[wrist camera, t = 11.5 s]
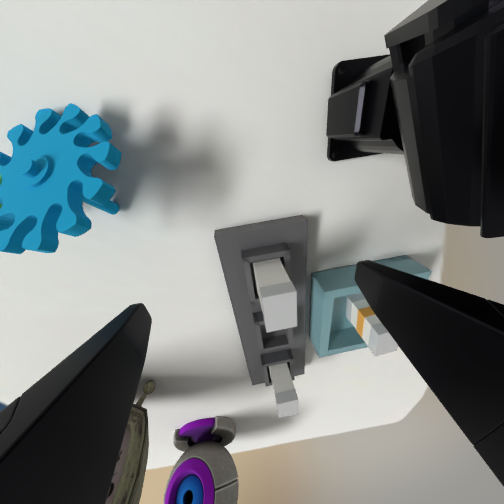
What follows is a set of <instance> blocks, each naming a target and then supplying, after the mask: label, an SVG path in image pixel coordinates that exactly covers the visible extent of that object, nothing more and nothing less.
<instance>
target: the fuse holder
mask: <svg viewBox="0 0 504 504" xmlns="http://www.w3.org/2000/svg"><path fill="white" fill-rule="evenodd" d="M214 238H215V241H216V245H217V249H218V253H219V257H220V261H221V265H222V269H223V272H224V276H225V280H226V284H227V288H228V292H229V296H230V300H231V304H232V307H233V311H234V315H235V319H236V323H237V327H238V331H239V335H240V338H241V342H242V346H243V350H244V354H245V358H246V362H247V366H248V370H249V373H250V377H251V381H252V385H256V384H260V383H265V384H266V386H269V385H272V381H271V377H270V373H269V366H272V365H277V364H281V363H286V362H287V365H288V368H289V372H290V375H291V379H292V380H294V376H297V375H301V374H304V364H305V310H306V255H307V220H306V219H305V218H304V217H303V216H302V215H300V216H294V217H289V218H283V219H277V220H271V221H266V222H260V223H254V224H249V225H243V226H237V227H231V228H226V229H220V230H215V234H214ZM278 257H280V261H281V263H282V265H283V267H284V269H285V271H286V273H287V275H288V277H289V279H290V281H292V283H293V285H294V287H295V289H296V291H297V326H296V327H292V328H287V329H282V330H277V331H272V332H266V327H265V323H264V317H263V312H262V308H261V304H260V299H259V295H258V293H257V289H256V283H255V277H254V270H253V264H252V262H256V261H261V260H267V259H272V258H278Z"/></svg>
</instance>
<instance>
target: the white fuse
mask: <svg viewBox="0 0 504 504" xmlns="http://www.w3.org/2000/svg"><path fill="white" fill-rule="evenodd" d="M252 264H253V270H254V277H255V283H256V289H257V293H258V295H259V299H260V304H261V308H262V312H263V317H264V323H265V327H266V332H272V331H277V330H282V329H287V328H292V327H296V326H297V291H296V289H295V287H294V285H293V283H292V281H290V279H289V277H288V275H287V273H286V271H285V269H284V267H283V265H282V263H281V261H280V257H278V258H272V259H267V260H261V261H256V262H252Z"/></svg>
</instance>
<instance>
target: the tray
mask: <svg viewBox="0 0 504 504" xmlns="http://www.w3.org/2000/svg"><path fill="white" fill-rule="evenodd" d="M373 262H376V263H379V264H382V265H385V266H388V267H391V268H394V269H397V270H400V271H403V272H406V273H409V274H412V275H415V276H418V277H421V278H424V279H427V280H428V278H429V276H430V274H431V270H429V269H428V268H426V267H424V266H423V265H421V264H419V263H418V262H416V261H414V260H413V259H411V258H410V257H408V256H406V255H404V256H399V257H393V258H388V259H383V260H378V261H373ZM356 266H357V265H352V266H346V267H341V268H336V269H331V270H325V271H320V272H315V273H312V275H311V303H310V330H309V336H310V339H311V341H312V343H313V345H314V348H315V350H316V352H317V354H318V356H319V357H324V356H328V355H333V354H338V353H342V352H347V351H352V350H356V349H361V348H366V347H368V346H367V344H366V343H365V341H364V340H363V339H362V338H361V336H360V335H359V334H358V332H357V331H356V329H355V327H354V326H353V325H352V323H350V321H349V320H348V318H347V317H346V305H347V296H349V295H353V294H357V293H362V292H361V291H360V289H359V287H358V286H357V284H356V282H355V278H354V277H355V271H356Z"/></svg>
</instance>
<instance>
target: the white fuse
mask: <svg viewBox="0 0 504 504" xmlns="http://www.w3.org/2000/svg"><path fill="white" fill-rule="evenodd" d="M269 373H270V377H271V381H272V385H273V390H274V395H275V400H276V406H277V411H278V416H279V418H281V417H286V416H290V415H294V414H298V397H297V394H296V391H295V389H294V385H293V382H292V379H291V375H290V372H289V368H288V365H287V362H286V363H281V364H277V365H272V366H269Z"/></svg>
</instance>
